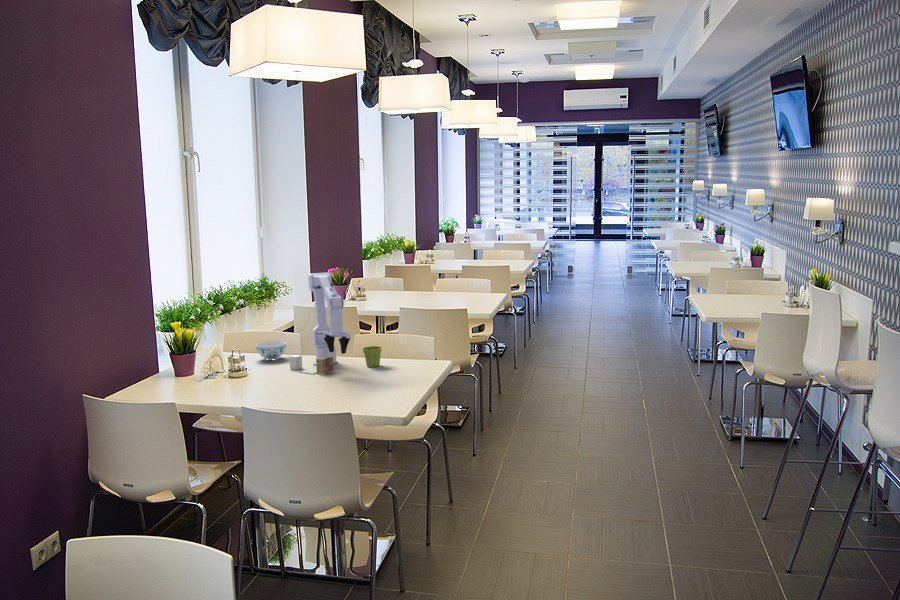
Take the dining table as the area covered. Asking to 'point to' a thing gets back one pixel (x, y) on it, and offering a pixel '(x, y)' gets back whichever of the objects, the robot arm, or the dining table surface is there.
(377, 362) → the plant pot
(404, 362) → the dining table surface
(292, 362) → the grey block
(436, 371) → the dining table surface
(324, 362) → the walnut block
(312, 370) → the sage mat
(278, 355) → the chinaware
